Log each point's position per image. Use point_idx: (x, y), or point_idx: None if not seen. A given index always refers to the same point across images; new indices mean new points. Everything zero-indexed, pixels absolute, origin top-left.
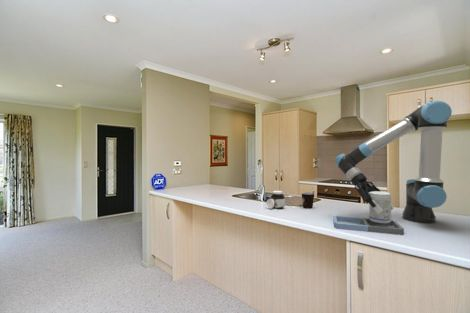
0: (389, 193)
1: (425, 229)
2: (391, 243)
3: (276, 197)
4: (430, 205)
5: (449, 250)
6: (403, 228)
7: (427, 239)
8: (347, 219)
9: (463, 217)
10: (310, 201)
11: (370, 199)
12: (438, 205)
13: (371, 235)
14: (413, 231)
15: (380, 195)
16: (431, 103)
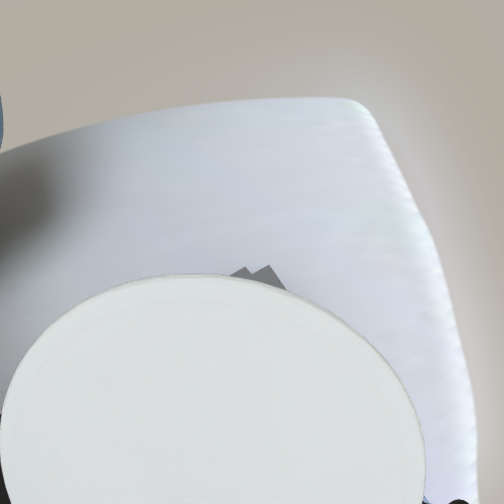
0: (133, 300)
1: (74, 228)
2: (439, 267)
3: None
4: (1, 132)
5: (322, 122)
6: (242, 268)
7: (248, 183)
8: None
9: None
10: None
11: (422, 502)
12: (1, 109)
13: (418, 376)
14: (150, 257)
15: (405, 402)
16: None
